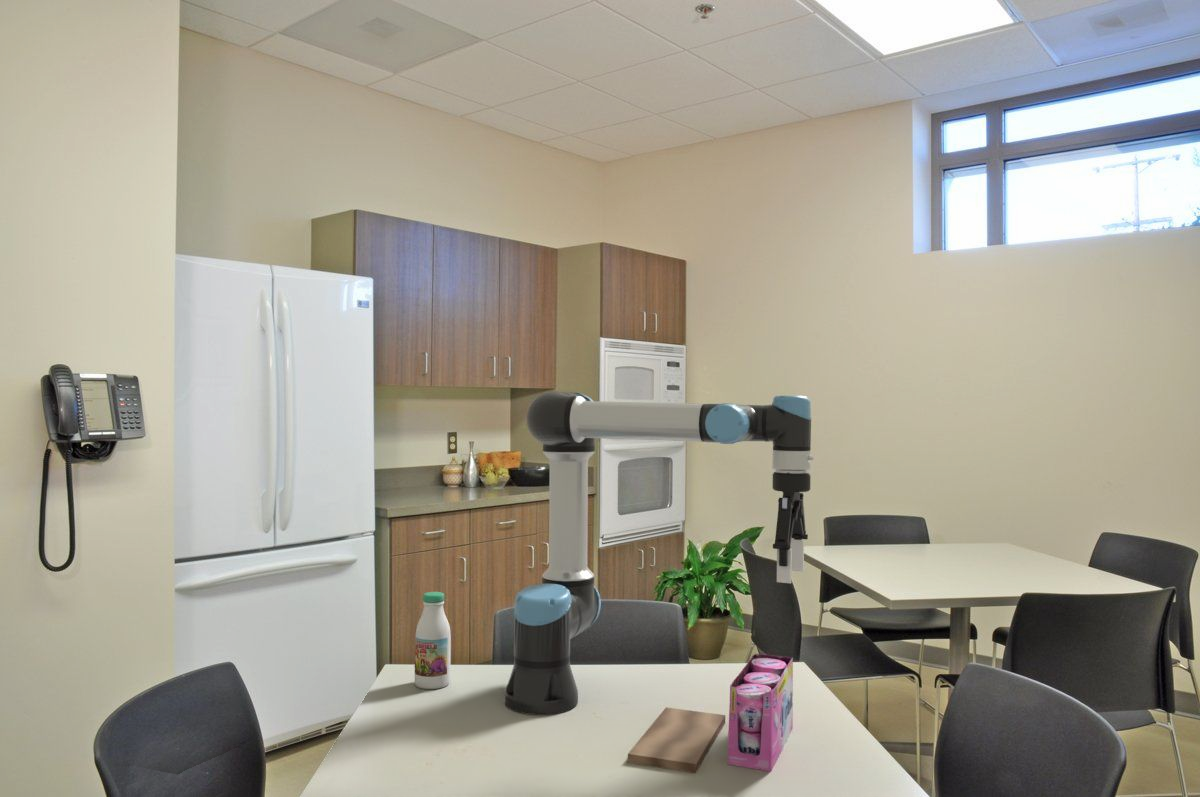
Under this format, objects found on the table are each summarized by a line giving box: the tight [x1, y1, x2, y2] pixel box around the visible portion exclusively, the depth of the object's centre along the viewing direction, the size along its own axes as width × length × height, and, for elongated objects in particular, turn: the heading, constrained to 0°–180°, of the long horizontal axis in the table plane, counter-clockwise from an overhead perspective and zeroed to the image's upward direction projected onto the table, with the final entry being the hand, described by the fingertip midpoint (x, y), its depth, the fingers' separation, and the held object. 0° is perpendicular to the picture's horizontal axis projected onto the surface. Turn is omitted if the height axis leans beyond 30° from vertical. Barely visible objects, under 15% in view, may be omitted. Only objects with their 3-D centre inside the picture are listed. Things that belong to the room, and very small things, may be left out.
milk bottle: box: [414, 591, 452, 690], centre depth 189 cm, size 8×8×20 cm
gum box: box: [726, 653, 794, 772], centre depth 157 cm, size 24×8×14 cm, turn 159°
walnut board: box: [627, 706, 726, 774], centre depth 158 cm, size 12×25×2 cm, turn 160°
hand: (790, 576), depth 174 cm, fingers open, 13 cm apart
